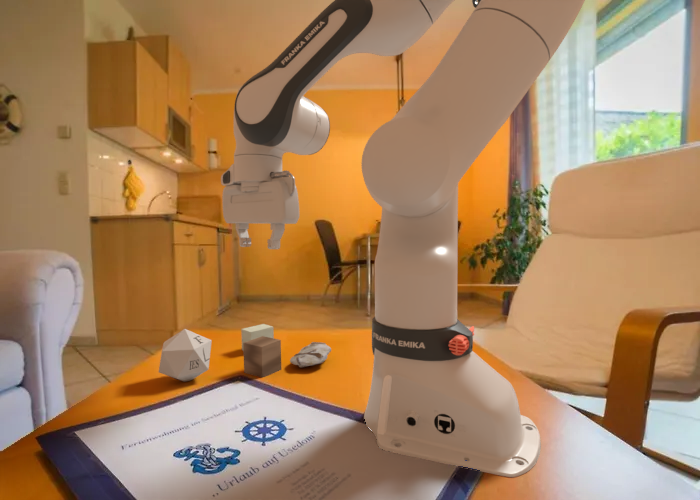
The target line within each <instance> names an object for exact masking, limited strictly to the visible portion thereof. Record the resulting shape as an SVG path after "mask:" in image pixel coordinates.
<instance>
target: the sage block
mask: <svg viewBox="0 0 700 500" xmlns="http://www.w3.org/2000/svg"><path fill="white" fill-rule="evenodd" d="M274 332H275V331H274V326H272V325H269V324H267V323H266V324H265V323H261V324H257V325H252V326H249V327H243V328H241V350H242V351H243V352H244V350H243V343H244V342H247V341H250V340H253V339H256V338H259V337H261V336H265V337H269V338H274V335H275V334H274ZM274 339H275V338H274Z"/></svg>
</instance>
